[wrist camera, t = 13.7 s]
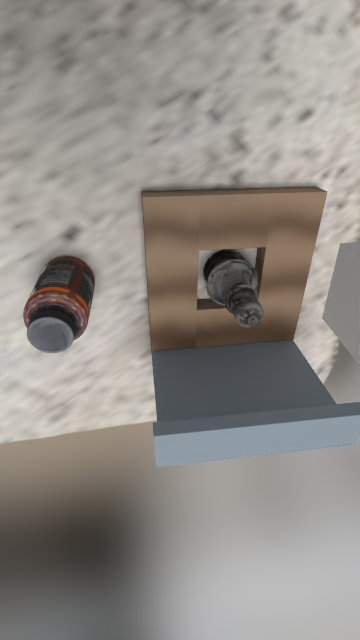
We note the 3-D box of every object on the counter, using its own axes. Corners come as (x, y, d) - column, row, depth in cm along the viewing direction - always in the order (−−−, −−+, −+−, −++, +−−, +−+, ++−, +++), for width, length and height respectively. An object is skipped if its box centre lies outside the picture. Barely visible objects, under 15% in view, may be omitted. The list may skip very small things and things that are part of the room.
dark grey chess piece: (231, 237, 39) (266, 284, 29) (257, 272, 41) (297, 326, 31) (191, 268, 40) (211, 323, 30) (218, 300, 43) (245, 360, 33)
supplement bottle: (30, 269, 38) (-3, 325, 28) (75, 245, 37) (57, 295, 27) (63, 309, 41) (43, 371, 31) (105, 288, 40) (97, 345, 31)
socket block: (141, 191, 35) (142, 197, 32) (316, 186, 37) (327, 191, 34) (150, 339, 45) (151, 350, 43) (286, 329, 47) (293, 339, 45)
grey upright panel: (145, 324, 44) (153, 436, 29) (292, 314, 46) (368, 414, 31) (147, 351, 46) (155, 467, 32) (286, 341, 48) (354, 444, 34)
